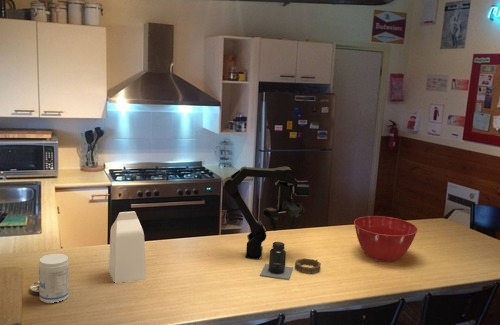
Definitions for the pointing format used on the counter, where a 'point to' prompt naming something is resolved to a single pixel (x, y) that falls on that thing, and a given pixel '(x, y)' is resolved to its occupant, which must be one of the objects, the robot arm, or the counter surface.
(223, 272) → the counter surface
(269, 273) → the rubber mat
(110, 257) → the milk
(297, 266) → the walnut collar
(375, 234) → the mixing bowl
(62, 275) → the supplement tub
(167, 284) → the counter surface
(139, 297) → the counter surface
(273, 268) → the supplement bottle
